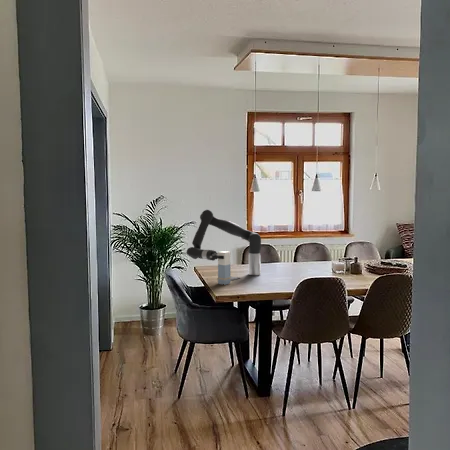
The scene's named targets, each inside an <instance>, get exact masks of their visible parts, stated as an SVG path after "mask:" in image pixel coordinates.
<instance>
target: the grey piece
mask: <svg viewBox="0 0 450 450" xmlns="http://www.w3.org/2000/svg"><path fill="white" fill-rule="evenodd" d="M231 271H232V270H231V264H229V265H218V264H217V284H218V285H223V284H224V285H223V286H225V285H229V283H230V284H231V283H232V282H231V276H232V275H231Z"/></svg>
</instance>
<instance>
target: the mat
mask: <svg viewBox="0 0 450 450" xmlns="http://www.w3.org/2000/svg"><path fill="white" fill-rule="evenodd" d="M239 279H241V278H240V277H238V276H232V275H231V281H234V280H235V281H236V280H239Z"/></svg>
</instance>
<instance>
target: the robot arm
mask: <svg viewBox="0 0 450 450" xmlns="http://www.w3.org/2000/svg"><path fill="white" fill-rule="evenodd" d="M199 219H200V222H199V223H200V224H199V226H198V228H197V230H196V232H195V235H194V236H193V239H192V242H191V243H192V246H190V247H189V248H187V249H186V254H187V256H188V257H190V258H192V259H193V260H197V259H202V260H206V261H212V262H213V261H216V260H218V259H224V256H219V255H218V252H217V251H216V250H215V249H204V248H203V249H201V248H202V244H203V240H204V238H205V235H206V232H207V229H208V227H209V226H213V227H215V228H216V229H219V230H220V231H223V232H225V233H227V234H229V235H231V236H235V237H239V238H242V239H244V240H245V241H247V242H248V243H249V245H248V248H249V249H248V275H250V276H260V275H261V273H262V270H261V269H262V266H261V264H262V263H261V250H262V237H261V235H260V234H259V233H257V232H253V231H251V230H248V229H245V228H244V227H242V226H240V225H239V224H238V223H235V222H233V221H230V220H227V219H223V218H219V217H216V216H214V213H213V211H212V210H210V209H205V210H203V211H202V212H201V214H200V215H199Z"/></svg>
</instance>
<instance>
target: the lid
mask: <svg viewBox="0 0 450 450" xmlns="http://www.w3.org/2000/svg"><path fill="white" fill-rule="evenodd" d="M217 253H218V255H219V256H224V259H217V266H218V265H229V264H230V265H231V251H227V250H226V251H225V250H223V251H218V252H217Z"/></svg>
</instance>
